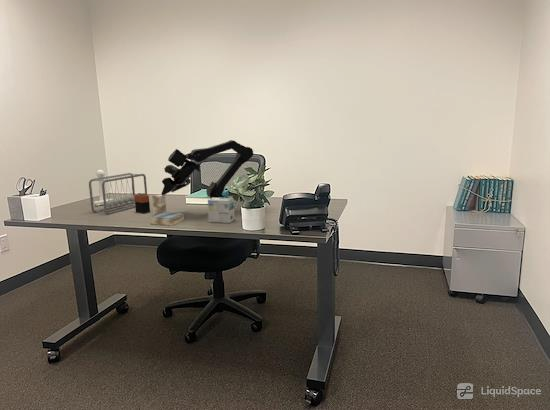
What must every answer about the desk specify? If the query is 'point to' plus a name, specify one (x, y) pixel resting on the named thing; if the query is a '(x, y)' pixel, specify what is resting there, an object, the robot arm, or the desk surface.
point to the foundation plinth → (167, 219)
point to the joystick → (100, 189)
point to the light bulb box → (221, 210)
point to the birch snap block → (159, 204)
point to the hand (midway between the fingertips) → (167, 193)
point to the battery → (142, 203)
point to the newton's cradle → (115, 201)
